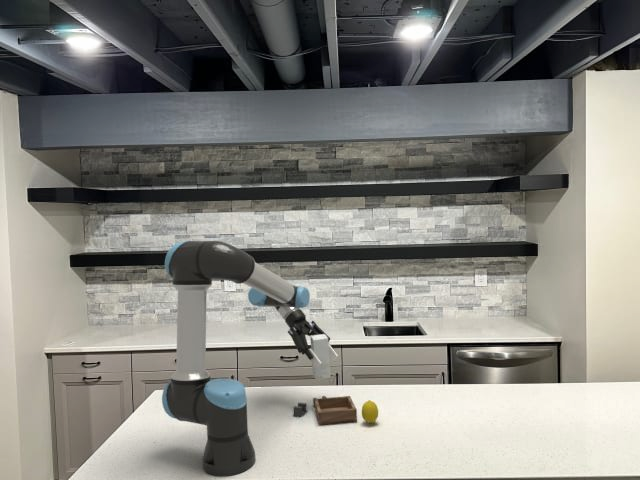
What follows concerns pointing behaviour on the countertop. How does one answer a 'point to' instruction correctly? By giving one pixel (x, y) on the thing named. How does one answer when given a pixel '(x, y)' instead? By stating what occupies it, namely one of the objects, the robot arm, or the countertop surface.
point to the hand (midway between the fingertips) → (327, 361)
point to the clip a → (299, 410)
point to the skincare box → (321, 356)
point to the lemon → (369, 411)
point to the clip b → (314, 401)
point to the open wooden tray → (335, 410)
